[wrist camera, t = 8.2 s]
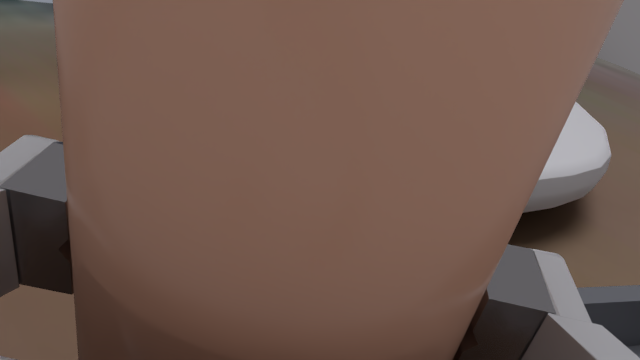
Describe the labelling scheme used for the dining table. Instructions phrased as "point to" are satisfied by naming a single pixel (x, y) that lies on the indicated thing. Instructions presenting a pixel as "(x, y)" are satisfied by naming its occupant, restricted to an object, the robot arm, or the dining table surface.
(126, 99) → the salmon pink cylinder
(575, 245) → the dining table surface
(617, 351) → the robot arm
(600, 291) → the grey square tray
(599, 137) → the plate
